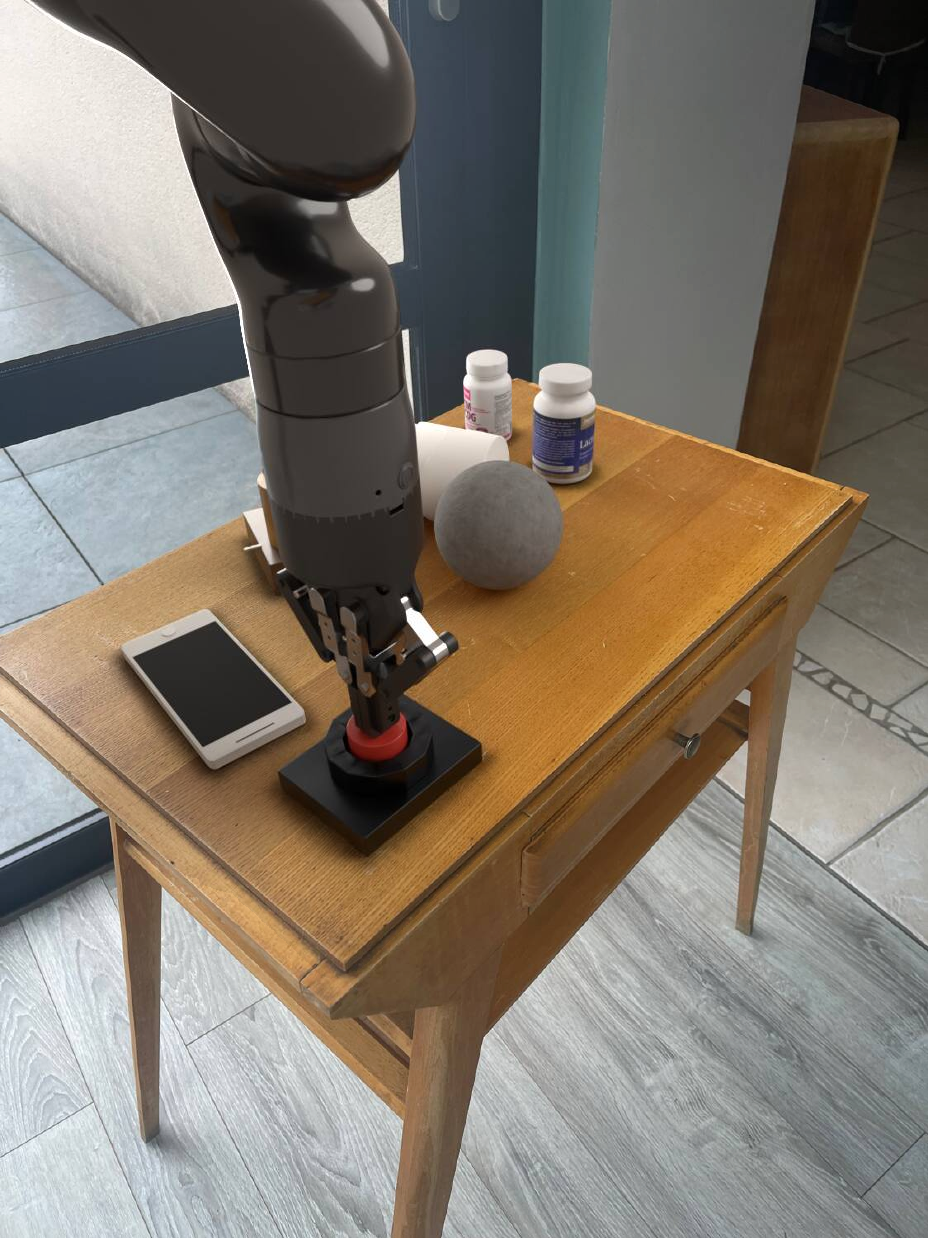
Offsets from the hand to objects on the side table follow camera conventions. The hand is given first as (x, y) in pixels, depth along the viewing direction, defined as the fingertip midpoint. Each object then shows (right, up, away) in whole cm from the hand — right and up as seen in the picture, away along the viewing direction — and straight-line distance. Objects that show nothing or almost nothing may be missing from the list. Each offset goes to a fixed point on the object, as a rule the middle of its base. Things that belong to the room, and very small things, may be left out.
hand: (377, 725), depth 56 cm
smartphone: (-13, +2, +10) cm, 16 cm away
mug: (+4, +16, +28) cm, 33 cm away
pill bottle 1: (+8, +25, +39) cm, 47 cm away
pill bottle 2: (+15, +20, +33) cm, 41 cm away
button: (0, -1, +1) cm, 2 cm away
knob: (-8, +13, +20) cm, 25 cm away
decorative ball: (+8, +10, +19) cm, 23 cm away
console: (-7, +12, +23) cm, 27 cm away
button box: (0, -3, +3) cm, 4 cm away
